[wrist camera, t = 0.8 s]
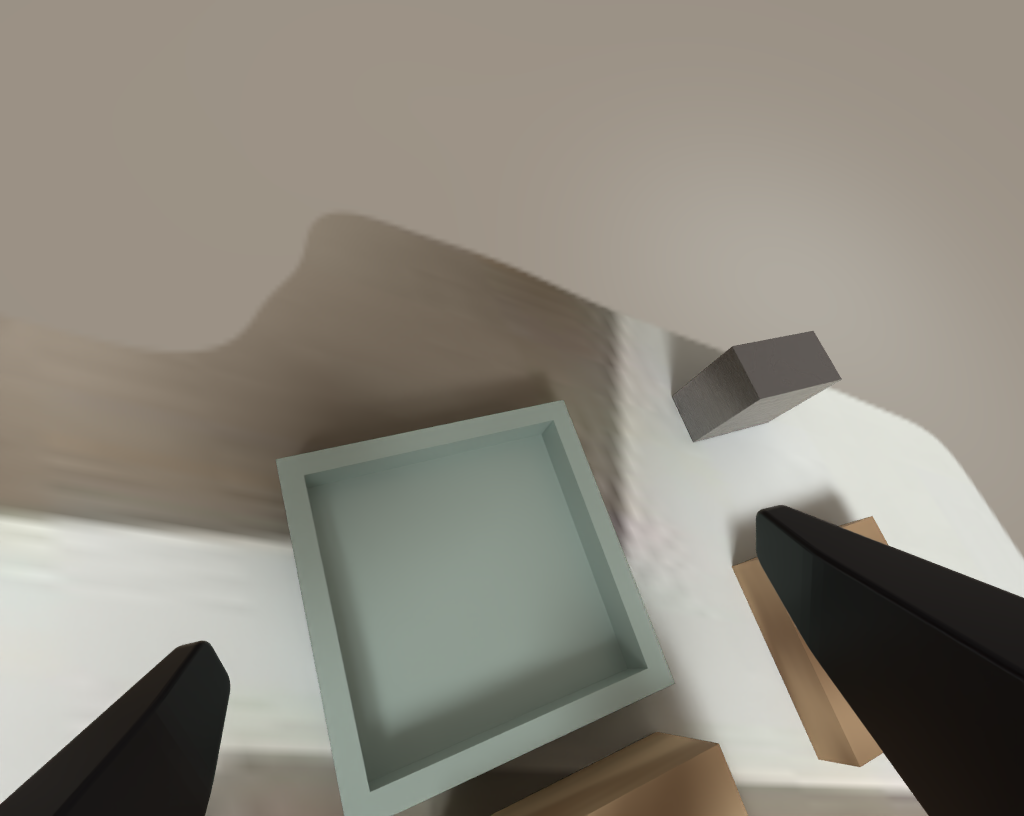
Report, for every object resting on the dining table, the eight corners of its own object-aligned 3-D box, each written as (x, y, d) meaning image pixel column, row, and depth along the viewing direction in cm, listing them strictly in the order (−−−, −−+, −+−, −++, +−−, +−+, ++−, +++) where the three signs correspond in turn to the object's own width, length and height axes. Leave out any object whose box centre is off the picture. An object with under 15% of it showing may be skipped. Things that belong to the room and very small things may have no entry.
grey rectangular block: (767, 422, 29) (841, 379, 25) (693, 442, 27) (760, 399, 23) (745, 380, 30) (813, 330, 26) (672, 396, 28) (732, 346, 24)
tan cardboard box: (918, 694, 25) (972, 696, 23) (811, 758, 23) (860, 766, 21) (831, 528, 28) (872, 516, 26) (726, 567, 26) (762, 558, 23)
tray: (645, 682, 22) (674, 683, 20) (347, 818, 17) (348, 836, 16) (546, 420, 26) (563, 399, 24) (281, 478, 21) (275, 459, 19)
